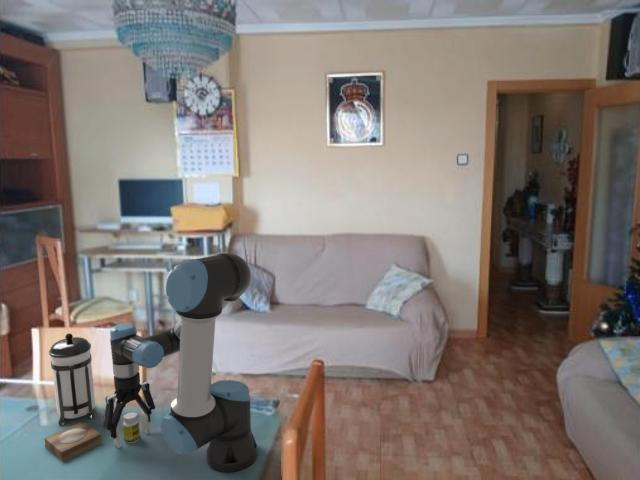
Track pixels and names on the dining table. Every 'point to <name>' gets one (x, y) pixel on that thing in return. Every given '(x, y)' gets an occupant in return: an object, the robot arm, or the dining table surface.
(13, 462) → the dining table surface
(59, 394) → the coffee press
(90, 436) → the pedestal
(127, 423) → the supplement bottle
